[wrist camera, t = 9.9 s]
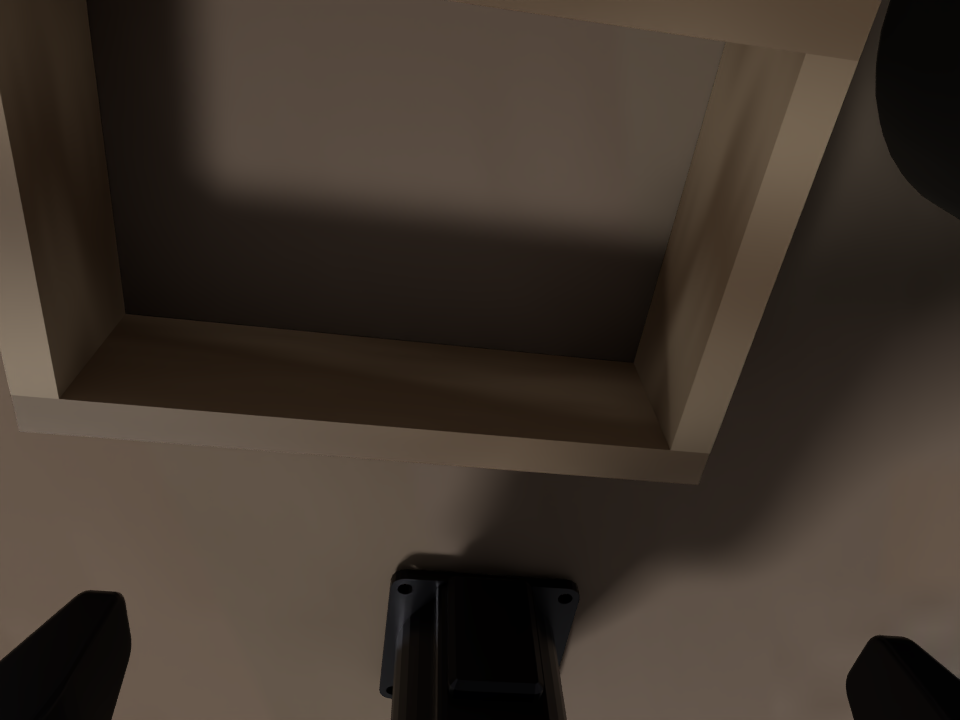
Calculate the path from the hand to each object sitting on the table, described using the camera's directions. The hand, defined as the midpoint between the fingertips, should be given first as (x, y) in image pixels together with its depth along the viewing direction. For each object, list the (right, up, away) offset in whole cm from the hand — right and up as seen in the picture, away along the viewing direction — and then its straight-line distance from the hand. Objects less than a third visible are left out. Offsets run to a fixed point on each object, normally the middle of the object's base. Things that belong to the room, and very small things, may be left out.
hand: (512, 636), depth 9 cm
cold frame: (-2, +8, +9) cm, 12 cm away
